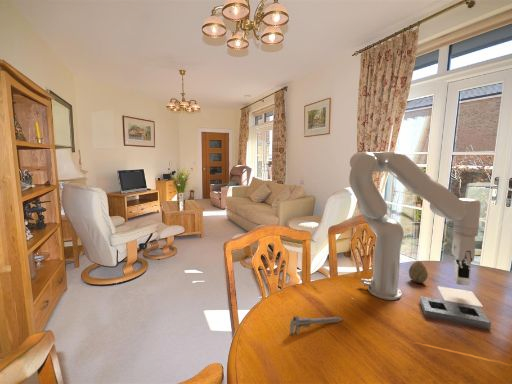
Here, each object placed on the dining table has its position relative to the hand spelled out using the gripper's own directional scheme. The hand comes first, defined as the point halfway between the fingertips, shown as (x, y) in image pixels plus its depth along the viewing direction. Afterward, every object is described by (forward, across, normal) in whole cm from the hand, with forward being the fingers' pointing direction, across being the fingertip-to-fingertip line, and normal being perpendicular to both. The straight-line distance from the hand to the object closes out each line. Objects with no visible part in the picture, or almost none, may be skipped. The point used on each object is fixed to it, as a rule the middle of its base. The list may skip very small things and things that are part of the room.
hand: (461, 274), depth 103 cm
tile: (+10, 0, 0) cm, 10 cm away
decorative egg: (+10, -8, -14) cm, 18 cm away
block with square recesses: (+9, +16, -6) cm, 20 cm away
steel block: (+3, 0, 0) cm, 3 cm away
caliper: (+9, +40, -49) cm, 64 cm away
